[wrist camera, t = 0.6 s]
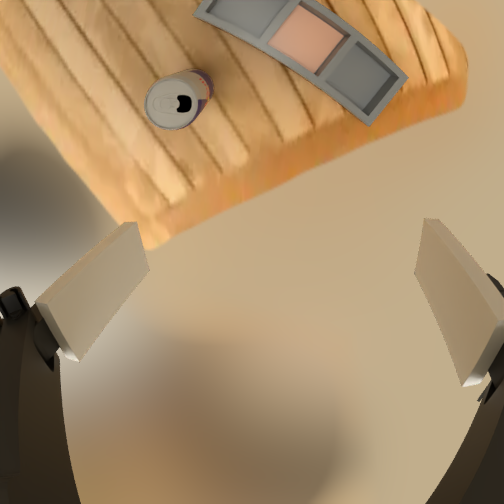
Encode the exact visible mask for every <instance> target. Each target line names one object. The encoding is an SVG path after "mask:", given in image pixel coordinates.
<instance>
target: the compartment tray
mask: <svg viewBox="0 0 504 504" xmlns="http://www.w3.org/2000/svg"><path fill="white" fill-rule="evenodd" d="M193 16H194V17H196V18H197V19H200V20H202V21H204V22H206V23H208V24H210V25H213V26H215V27H217V28H219V29H221V30H223V31H225V32H227V33H229V34H231V35H233V36H235V37H237V38H238V39H240V40H242V41H244V42H246V43H248V44H250V45H251V46H253V47H255V48H257V49H258V50H260V51H262V52H264V53H265V54H267V55H269V56H270V57H272V58H274V59H275V60H277V61H278V62H280V63H282V64H283V65H285V66H286V67H288V68H290V69H291V70H293V71H294V72H296V73H297V74H299V75H300V76H302V77H303V78H305V79H306V80H307V81H309V82H310V83H312V84H313V85H315V86H316V87H317V88H319V89H320V90H322V91H323V92H324V93H326V94H327V95H328V96H330V97H331V98H332V99H334V100H335V101H336V102H338V103H339V104H340V105H342V106H343V107H344V108H345V109H347V110H348V111H349V112H350V113H352V114H353V115H354V116H355V117H356V118H358V119H359V120H360V121H361V122H363V123H364V124H366V125H367V126H370V125H371V124H372V123H373V121H374V120H375V119H376V118H377V116H378V115H379V114H380V113H381V111H382V110H383V109H384V108H385V106H386V105H387V104H388V103H389V102H390V100H391V99H392V98H393V97H394V95H395V94H396V93H397V92H398V90H399V89H400V88H401V87H402V85H403V84H404V83H405V82H406V80H407V79H408V78H409V77H408V76H407V75H406V74H405V73H404V72H403V71H402V70H401V69H400V68H399V67H398V66H397V65H396V64H394V63H393V62H392V61H391V60H390V59H389V58H388V57H387V56H386V55H385V54H384V53H383V52H382V51H380V50H379V49H378V48H377V47H376V46H375V45H374V44H372V43H371V42H370V41H369V40H368V39H367V38H365V37H364V36H363V35H362V34H361V33H359V32H358V31H357V30H356V29H354V28H353V27H352V26H350V25H349V24H348V23H347V22H345V21H344V20H343V19H341V18H340V17H338V16H337V15H336V14H334V13H333V12H332V11H330V10H329V9H327V8H326V7H324V6H323V5H321V4H320V3H318V2H317V1H315V0H203V1H202V2H201V4H200V5H199V7H198V8H197V9H196V11H195V12H194V14H193Z"/></svg>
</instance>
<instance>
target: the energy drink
mask: <svg viewBox="0 0 504 504" xmlns="http://www.w3.org/2000/svg"><path fill="white" fill-rule="evenodd" d="M213 92H214V84H213V81H212V79H211V77H210V76H209V75H208V74H207V73H206V72H204V71H202V70H198V69H189V70H185V71H182V72H178V73H175V74H172V75H168V76H165V77H162V78H160V79H159V80H157V81H156V82H155V83H153V84H152V86H151V87H150V88H149V90H148V92H147V94H146V97H145V101H144V109H145V113H146V115H147V117H148V119H149V120H150V121H151V123H153V124H154V125H155V126H157V127H159V128H161V129H164V130H178V129H181V128H184V127H186V126H188V125H189V124H191V123H192V122H193V121H194V120H195V119H196V118H197V116H198V115H199V114H200V112H201V111H202V110H203V108H204V107H205V106H206V104H207V103H208V102H209V101H210V99H211V98H212V95H213Z"/></svg>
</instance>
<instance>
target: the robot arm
mask: <svg viewBox="0 0 504 504" xmlns="http://www.w3.org/2000/svg"><path fill="white" fill-rule="evenodd" d="M149 271H150V269H149V266H148V262H147V259H146V255H145V251H144V248H143V244H142V240H141V236H140V232H139V228H138V224H137V222H124V223H123V224H122V225H121V226H119V227H118V228H117V229H116V230H114V231H113V232H112V233H111V234H110V235H108V236H107V237H106V238H104V239H103V240H102V241H101V242H100V243H98V244H97V245H96V246H95V247H94V248H92V249H91V250H90V251H89V252H88V253H87V254H85V255H84V256H83V257H82V258H81V259H80V260H79V261H77V262H76V263H75V264H74V265H73V266H72V267H71V268H70V269H68V270H67V271H66V272H65V273H64V274H63V275H62V276H61V277H60V278H59V279H58V280H56V281H55V282H54V283H53V284H52V285H51V286H50V287H49V288H48V289H47V290H46V291H45V292H44V293H43V294H42V295H41V296H40V297H39V298H38V299H37V300H36V301H35V304H34V305H33V306H32V307H31V308H30V306H29V304H28V302H27V300H26V298H25V296H24V294H23V292H22V290H21V288H20V287H12V288H9V289H7V290H6V291H4V292H3V293H2V294H0V312H1V313H2V315H3V317H4V318H3V319H1V317H0V504H81V502H80V499H79V495H78V492H77V488H76V484H75V480H74V475H73V471H72V466H71V461H70V456H69V451H68V445H67V439H66V432H65V425H64V417H63V408H62V396H61V382H60V359H59V356H58V355H57V353H56V351H57V350H58V348H59V347H60V348H61V349H62V351H63V353H64V355H65V356H66V357H67V358H68V359H71V360H74V361H77V362H80V361H81V359H82V358H83V357H84V355H85V354H86V353H87V351H88V350H89V348H90V347H91V346H92V344H93V343H94V342H95V340H96V339H97V338H98V336H99V335H100V333H101V332H102V331H103V329H104V328H105V327H106V325H107V324H108V323H109V321H110V320H111V319H112V317H113V316H114V315H115V314H116V312H117V311H118V310H119V309H120V307H121V306H122V304H123V303H124V302H125V301H126V299H127V298H128V297H129V296H130V294H131V293H132V292H133V291H134V289H135V288H136V287H137V286H138V284H139V283H140V282H141V281H142V280H143V278H144V277H145V276H146V275H147V273H148V272H149ZM414 274H415V276H416V278H417V280H418V282H419V284H420V286H421V288H422V290H423V292H424V294H425V296H426V298H427V300H428V303H429V304H430V307H431V309H432V311H433V314H434V316H435V318H436V320H437V323H438V325H439V327H440V330H441V332H442V334H443V337H444V340H445V342H446V345H447V347H448V350H449V352H450V355H451V358H452V360H453V363H454V366H455V368H456V371H457V374H458V377H459V380H460V383H461V386H462V387H466V386H470V385H475V384H480V383H481V381H482V380H483V378H484V377H485V375H486V373H487V372H489V374H490V377H491V379H492V380H491V381H490V383H489V384H488V386H487V387H486V388H485V390H484V391H483V393H482V394H481V395H480V397H479V399H478V400H477V401H480V400H481V399H482V401H481V403H480V406H479V408H478V411H477V413H476V415H475V417H474V420H473V422H472V424H471V427H470V428H469V431H468V433H467V435H466V437H465V439H464V441H463V443H462V445H461V447H460V449H459V450H458V452H457V454H456V456H455V458H454V460H453V462H452V463H451V465H450V467H449V468H448V470H447V472H446V473H445V475H444V477H443V478H442V480H441V481H440V483H439V485H438V486H437V488H436V489H435V491H434V492H433V494H432V495H431V496H430V498H429V499H428V501H427V502H426V504H504V288H503V287H502V285H501V284H500V283H499V282H498V281H497V280H496V279H495V278H493V277H492V276H491V275H490V274H486V273H485V272H484V271H483V270H482V268H481V267H480V266H479V264H478V263H477V262H476V261H475V260H474V258H473V257H472V256H471V255H470V254H469V252H468V251H467V250H466V249H465V248H464V246H463V245H462V244H461V243H460V242H459V241H458V240H457V239H456V237H455V236H454V235H453V234H452V233H451V232H450V231H449V230H448V228H447V227H446V226H445V225H444V224H443V223H442V222H441V221H440V220H439V219H425V218H424V222H423V229H422V235H421V241H420V247H419V252H418V257H417V263H416V267H415V272H414Z"/></svg>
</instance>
